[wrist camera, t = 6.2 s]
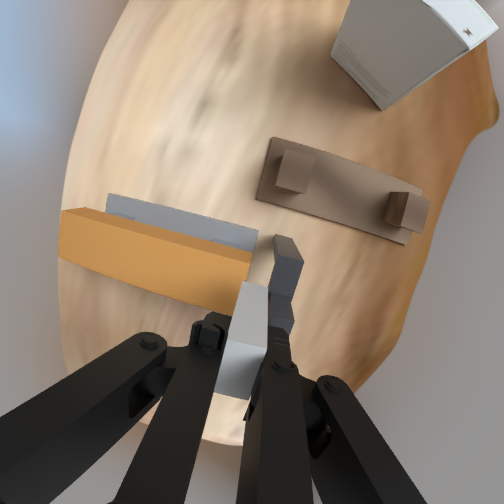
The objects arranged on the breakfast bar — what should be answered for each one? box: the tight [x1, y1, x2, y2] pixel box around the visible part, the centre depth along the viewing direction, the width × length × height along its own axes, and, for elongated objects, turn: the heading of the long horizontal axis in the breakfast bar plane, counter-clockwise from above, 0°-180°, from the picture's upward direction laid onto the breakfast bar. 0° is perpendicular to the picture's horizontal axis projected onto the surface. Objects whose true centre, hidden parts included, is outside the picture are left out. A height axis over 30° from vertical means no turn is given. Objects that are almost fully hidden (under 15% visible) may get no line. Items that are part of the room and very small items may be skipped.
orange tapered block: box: [58, 207, 253, 316], centre depth 20 cm, size 4×16×4 cm, turn 75°
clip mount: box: [106, 193, 259, 253], centre depth 24 cm, size 6×16×4 cm, turn 75°
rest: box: [256, 137, 430, 246], centre depth 22 cm, size 6×16×4 cm, turn 75°
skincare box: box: [330, 0, 498, 110], centre depth 14 cm, size 8×7×16 cm
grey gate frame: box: [268, 234, 304, 335], centre depth 20 cm, size 7×2×12 cm, turn 165°
